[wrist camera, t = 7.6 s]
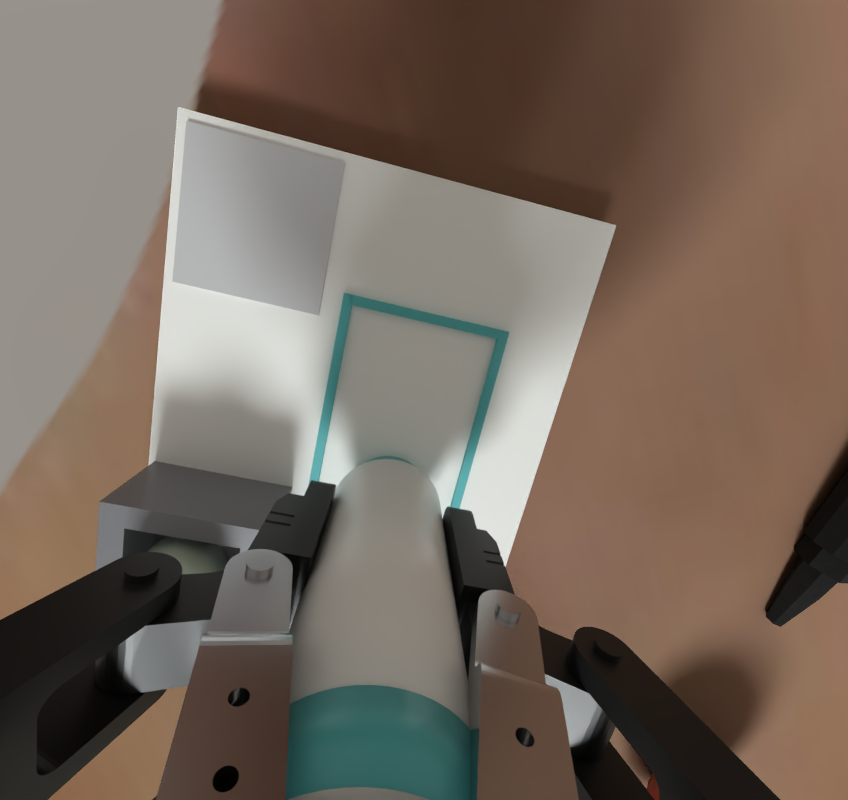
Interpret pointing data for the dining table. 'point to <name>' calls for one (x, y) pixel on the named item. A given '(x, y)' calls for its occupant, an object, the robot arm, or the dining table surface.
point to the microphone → (816, 559)
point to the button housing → (182, 510)
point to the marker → (379, 650)
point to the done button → (193, 554)
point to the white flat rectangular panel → (362, 320)
